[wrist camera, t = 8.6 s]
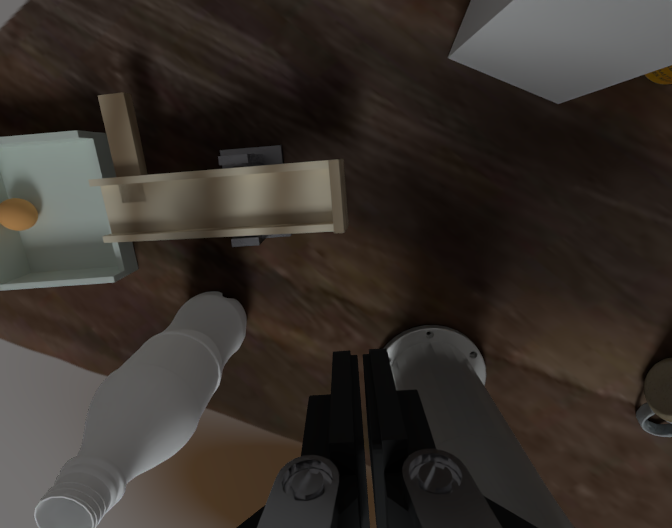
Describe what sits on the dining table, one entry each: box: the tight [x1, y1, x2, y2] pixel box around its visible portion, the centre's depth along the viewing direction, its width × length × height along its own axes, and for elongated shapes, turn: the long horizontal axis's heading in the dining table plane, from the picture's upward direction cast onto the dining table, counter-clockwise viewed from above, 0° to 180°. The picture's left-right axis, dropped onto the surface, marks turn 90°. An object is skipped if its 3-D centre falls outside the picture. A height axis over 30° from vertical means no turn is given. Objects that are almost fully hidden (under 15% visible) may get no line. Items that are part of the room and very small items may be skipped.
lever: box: [88, 93, 348, 243], centre depth 32 cm, size 22×12×3 cm, turn 95°
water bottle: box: [34, 291, 247, 528], centre depth 31 cm, size 7×7×25 cm
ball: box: [0, 198, 38, 231], centre depth 38 cm, size 3×3×3 cm
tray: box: [0, 130, 138, 291], centre depth 38 cm, size 14×12×4 cm
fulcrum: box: [218, 145, 292, 247], centre depth 36 cm, size 6×9×7 cm, turn 5°
